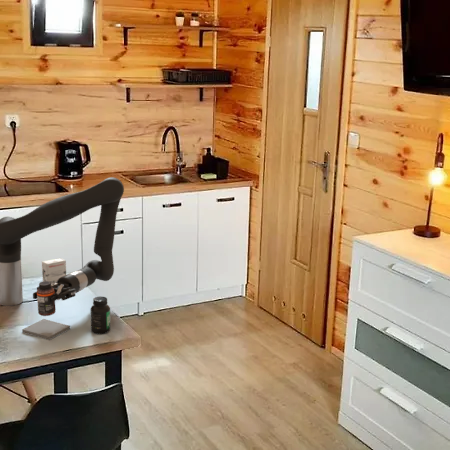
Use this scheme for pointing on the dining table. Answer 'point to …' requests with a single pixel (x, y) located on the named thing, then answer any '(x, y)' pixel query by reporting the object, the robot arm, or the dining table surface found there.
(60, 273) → the ink box
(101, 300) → the supplement bottle
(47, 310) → the supplement bottle
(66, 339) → the dining table surface
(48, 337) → the slate tile
